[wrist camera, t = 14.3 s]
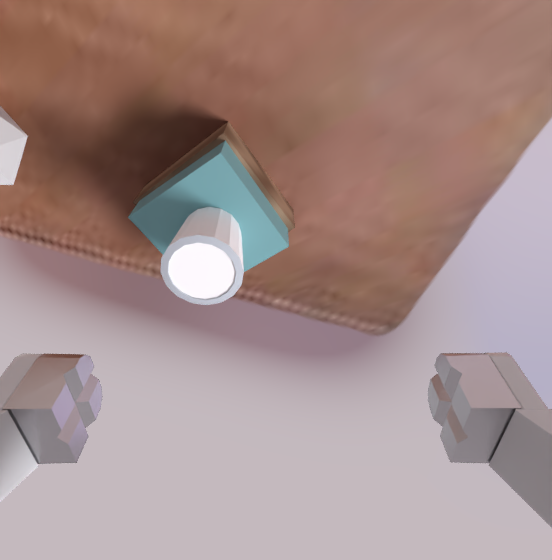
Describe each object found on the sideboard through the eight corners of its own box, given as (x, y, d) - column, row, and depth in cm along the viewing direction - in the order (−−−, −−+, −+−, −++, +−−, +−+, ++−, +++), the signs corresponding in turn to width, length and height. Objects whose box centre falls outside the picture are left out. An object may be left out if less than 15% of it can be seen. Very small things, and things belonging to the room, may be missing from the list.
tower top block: (139, 200, 42) (127, 217, 39) (225, 140, 39) (220, 152, 35) (206, 275, 47) (201, 296, 44) (287, 228, 44) (288, 246, 40)
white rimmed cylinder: (168, 251, 41) (151, 292, 35) (186, 189, 37) (170, 223, 31) (234, 272, 42) (228, 315, 36) (257, 215, 38) (255, 252, 33)
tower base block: (145, 184, 46) (132, 202, 42) (228, 120, 42) (223, 132, 38) (214, 259, 52) (208, 281, 47) (293, 208, 48) (294, 227, 44)
